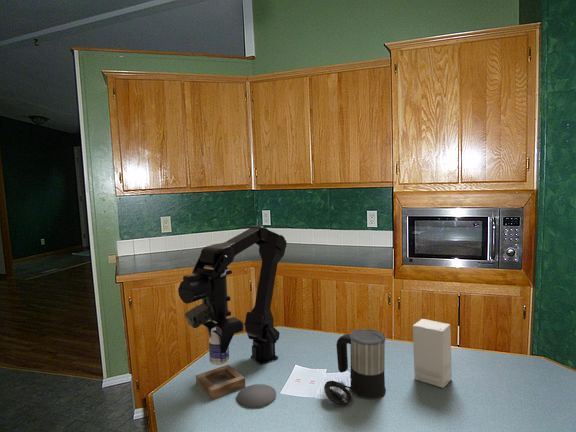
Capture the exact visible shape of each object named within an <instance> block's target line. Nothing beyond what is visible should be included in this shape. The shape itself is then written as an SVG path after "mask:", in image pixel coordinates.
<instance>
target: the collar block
mask: <svg viewBox="0 0 576 432" xmlns="http://www.w3.org/2000/svg"><path fill="white" fill-rule="evenodd" d="M224 378H226V379H228V380H226V381H223V382H221V383H218V384H215V385H214V384H213V383H214V382H216V381H218V380H221V379H224ZM212 382H213V383H212ZM195 384H196V385H197V387H198V388H199V389H200V390H201V391H202V392H203V393H204V394H205V395H206V396H207V397H208V398H209V400H211V401H212V400H213V401H214V400H215V399H218V398H220V397H223V396H225V395H228V394H231V393H233V392H236V391H238V390H239V391H240V390H242V389H243V388H245V387H246V377H245V376H243V375H242V374H241V373H240V372H239V371H237V370H236V369H235V368H234V367H232V366H231V365H230V364H226V365H222V366H220V367H217V368H213V369H211V370H208V371H205V372H202V373H200V374H196V375H195Z"/></svg>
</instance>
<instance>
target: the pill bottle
mask: <svg viewBox="0 0 576 432" xmlns="http://www.w3.org/2000/svg"><path fill="white" fill-rule="evenodd" d="M215 330H216V327H215V328H212V329H211V337H209V339H208V352H209V353H208V355H209V362H210V364H212V365H214V366H221V365H224V364H226V363H228V362H230V347H229V346H230V345H229V346H228V349H227V351H226V353H222V352H221V348H220V342H219V337H218V335H217V334H216V333H214V332H213V331H215Z"/></svg>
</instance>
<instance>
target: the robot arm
mask: <svg viewBox="0 0 576 432" xmlns="http://www.w3.org/2000/svg"><path fill="white" fill-rule="evenodd" d="M287 243H288V242H287V240H286V238H285V237H284V235H282V234H279V233H276V232H274V231H272V230H269V229H268V228H266V227H265V226H261V225H252V226H250V227H249V228H248V229H246V230H245V231H243V232H241V233H239V234H237V235H235V236H233V237H232V238H231V239H228V240H227V241H224V242H220V243H214V244H211V245H207V246H204V247H203V248H202V249H201V251H200V254H199V257H198V259H197V260H196V263H195V265H194V268H193V270H192V274H186V275H184V276H182V280H181V282H180V283H179V285H178V288H177V289H178V290H177V292H178V293H177V294H178V296H179V298H180V300H181V301H182V302H183V303H184V304H186V305H187V304H191V303H194V302H195V303H196V302H197V301H200V300H201V302H202V303H200V304H199V305H196V306H194V307H193V308H192V309H189V310H188V311H185V313H184V317H185V319H186V321H187V323H188V325H189V326H190V327H192V329H198V328H199V327H200V326H204V327H205V328H206V330H207V334H208V336H209V338H210V337H211V329H212V328H215V327H216V330H215V331H213V332H214V333H216V334H217V335H218V337H219V342H220V348H221V352H222V353H226V351H227V349H228V346H230V344H231V341H232V340H233V337H234V336H235V334H237V333H241V332H244V330H245V332H246V335H247V336H248V337H247V338H248V339H249V340H252V345H251V355H250V358H251V359H252V360H254V361H255V362H257V363H258V364H260V365H264V364H267V363H271V362H272V361H275V360H278V359H279V356H278V355H276V344H277V341H278V340H279V339H280V334H281V333H280V332H279V330H277V329H276V328H275V327H274V323H275V322H274V319H275V318H274V316H273V313H272V310H271V308H272V300H273V294H274V287H275V281H276V275H277V269H278V264H279V262H280V261H281V260H282V259H283V257H284V255H285V251H286V247H287ZM253 245H257V246H258V253H259V256H260V260H261V266H260V271H259V277H258V283H257V290H256V296H255V302H254V307H253V308H252V309H251V311H247V312H246V314H245V321H244V322H243V321H242V320H241V319H239V318H237V317H235V316H233V317H231V316H232V311H230V310H229V306H228V305H229V303H228V302H229V301H231V295H230V296H229V295H228V284H227V283H228V282H227V281H228V280H227V279H228V278H227V276H228V275H231V274H233V271H232V270H231V269H230V268H228V266H230V265H231V263H233V262H234V259H235V257H236V256H237V255H239V254H240V253H242V252H244V251H245V250H247V249H249V248H250V247H251V246H253Z"/></svg>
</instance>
